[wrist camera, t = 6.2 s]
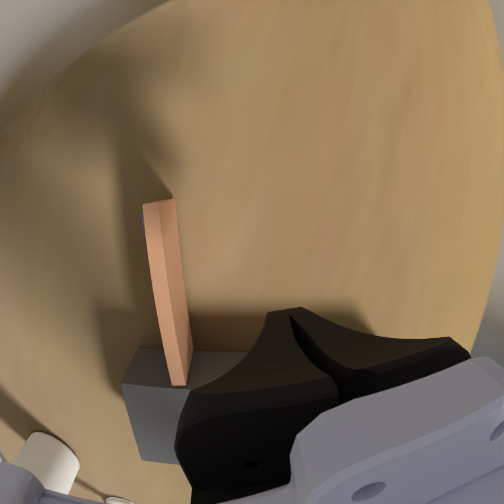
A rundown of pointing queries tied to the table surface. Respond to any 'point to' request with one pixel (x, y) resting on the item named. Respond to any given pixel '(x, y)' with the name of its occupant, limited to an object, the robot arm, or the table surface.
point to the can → (49, 461)
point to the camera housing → (165, 396)
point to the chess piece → (118, 501)
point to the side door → (168, 285)
